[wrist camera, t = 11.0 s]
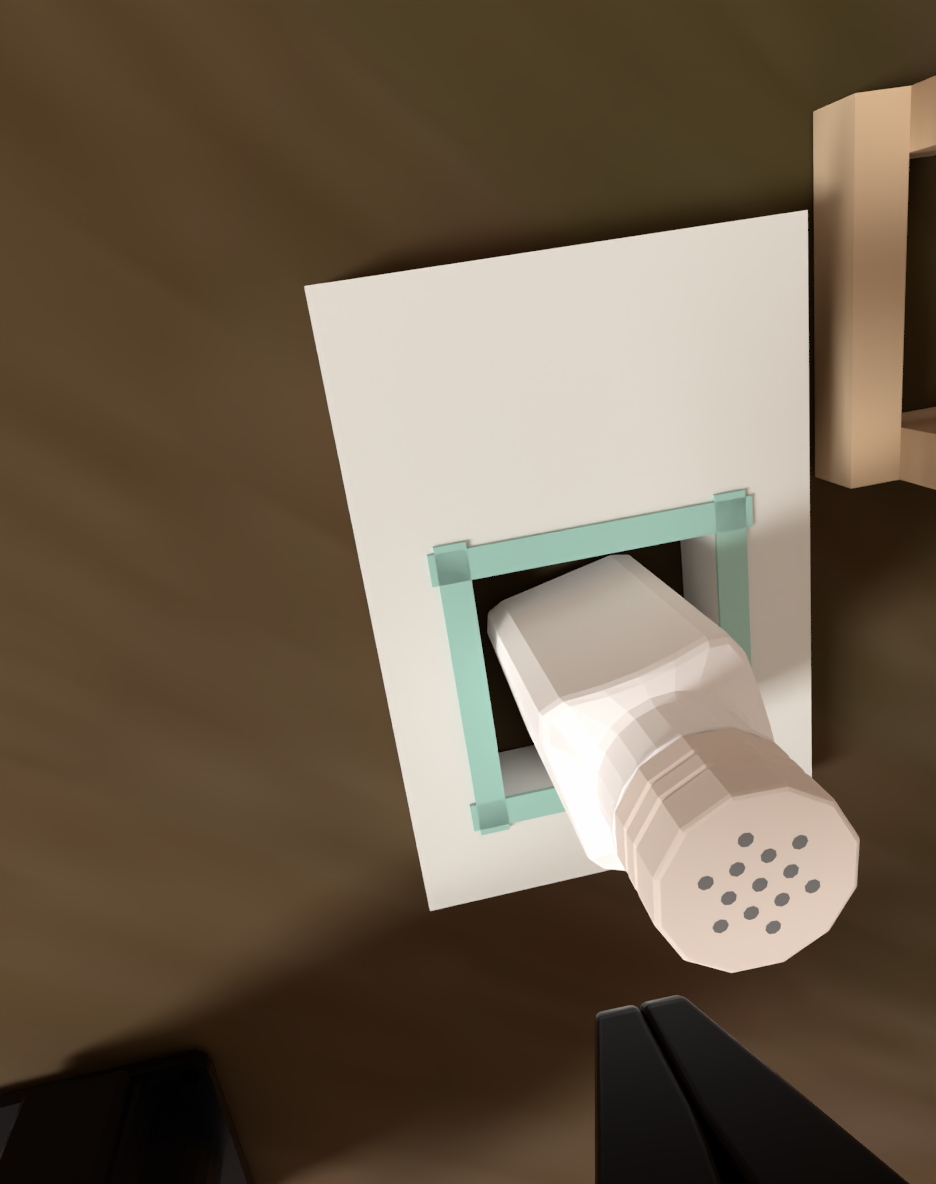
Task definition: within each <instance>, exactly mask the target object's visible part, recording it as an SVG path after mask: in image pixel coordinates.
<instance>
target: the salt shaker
mask: <svg viewBox="0 0 936 1184" xmlns="http://www.w3.org/2000/svg"><path fill="white" fill-rule="evenodd" d="M487 633H488V636H489V638H490V641H491V643H492V645H493V648H494V650H495V653H496V655H497V658H498V660H499V663H500V665H501V667H502V670H503V672H504V675H505V677H506V680H507V682H508V684H509V687H510V689H511V692H512V694H513V697H514V699H515V701H516V704H517V706H518V709H519V711H520V714H521V716H522V718H523V721H524V723H525V726H526V728H527V730H528V732H529V734H530V737H531V739H532V741H533V743H534V745H535V747H536V749H537V751H538V754H539V756H540V758H541V760H542V762H543V764H544V766H545V768H546V770H547V773H548V775H549V777H550V779H551V781H552V783H553V785H554V787H555V790H556V792H557V794H558V796H559V798H560V800H561V802H562V804H563V807H564V809H565V811H566V813H567V815H568V817H569V819H570V821H571V824H572V826H573V828H574V830H575V832H576V834H577V836H578V838H579V840H580V843H581V845H582V847H583V849H584V851H585V853H586V855H587V857H588V858H589V859H590V860H591V861H593V862H594V863H596V864H597V865H599V866H600V867H602V868H603V869H612V870H622V871H626V872H627V873H628V875H629V878H630V880H631V882H632V884H633V886H634V888H635V889H636V891H637V892H638V895H639V897H640V899H641V901H642V903H643V905H644V907H645V909H646V910H647V912H648V914H649V916H650V918H651V920H652V922H653V924H654V926H655V927H656V928H657V929H658V930H659V931H660V933H661V934H662V935H663V936H664V937H665V939H666V940H667V941H668V942H669V943H670V944H671V946H672V947H673V948H674V949H675V950H676V952H677V953H678V954H679V955H680V956H681V957H682V959H683V960H685V961H688V962H692V963H696V964H699V965H703V966H707V967H711V968H715V969H718V970H722V971H726V972H730V973H734V972H739V971H744V970H749V969H753V968H758V967H763V966H767V965H772V964H777V963H781V962H784V961H786V960H787V959H789V958H790V957H792V956H793V955H794V954H796V953H797V952H799V951H800V950H802V949H803V948H805V947H806V946H808V945H809V944H810V943H812V942H813V941H815V940H816V939H818V938H819V937H821V936H822V935H823V934H825V933H826V932H828V931H829V930H830V928H831V927H832V925H833V923H834V922H835V920H836V919H837V917H838V916H839V914H840V912H841V911H842V909H843V908H844V906H845V904H846V903H847V901H848V900H849V898H850V897H851V895H852V893H853V892H854V890H855V889H856V887H857V875H858V858H859V842H860V839H859V836H858V834H857V833H856V831H855V830H854V828H853V827H852V825H851V824H850V822H849V821H848V819H847V818H846V816H845V815H844V813H843V812H842V810H841V809H840V807H839V806H838V804H837V803H836V801H835V800H834V799H833V798H832V797H831V796H830V795H829V794H828V793H827V792H826V791H825V790H824V789H823V788H822V787H821V786H820V785H819V784H818V783H817V782H816V781H815V780H814V779H813V778H811V777H810V776H809V775H808V774H806V773H805V771H804V770H803V769H802V768H801V767H800V766H799V765H798V764H797V763H796V762H795V761H794V760H792V759H791V758H790V757H789V756H788V755H787V754H786V753H785V752H784V751H783V750H782V749H781V748H780V747H779V746H778V745H777V744H776V743H775V742H774V738H773V734H772V730H771V726H770V723H769V719H768V716H767V713H766V710H765V706H764V703H763V700H762V697H761V693H760V691H759V688H758V685H757V682H756V680H755V677H754V674H753V671H752V669H751V666H750V663H749V660H748V658H747V655H746V653H745V651H744V650H743V649H742V648H741V647H740V646H739V645H738V644H737V643H736V642H735V641H734V640H733V639H732V638H731V637H730V636H729V635H728V633H727V632H725V631H724V630H723V629H722V628H720V627H719V626H718V625H717V624H715V623H714V622H713V621H712V620H710V619H709V618H708V617H707V616H705V615H704V614H703V613H702V612H700V611H699V610H698V609H696V608H695V607H694V606H693V605H691V604H690V603H689V602H688V601H686V600H685V599H684V598H683V597H681V596H680V595H679V594H678V593H676V592H675V591H674V590H673V589H671V588H670V587H669V586H668V585H666V584H665V583H664V582H663V581H661V580H660V579H659V578H658V577H656V576H655V575H654V574H653V573H651V572H650V571H649V570H647V569H646V568H645V567H644V566H642V565H641V564H640V563H639V562H637V561H636V560H635V559H634V558H632V557H631V556H630V555H610V556H607V557H605V558H602V559H600V560H598V561H595V562H593V563H591V564H588V565H586V566H583V567H581V568H579V569H576V570H574V571H572V572H569V573H567V574H564V575H562V576H560V577H557V578H555V579H553V580H550V581H548V582H545V583H543V584H541V585H538V586H536V587H534V588H531V589H529V590H527V591H524V592H522V593H519V594H517V595H515V596H512V597H510V598H508V599H505V600H503V601H501V602H500V603H499V604H497V605H496V606H495V607H494V608H493V609H491V610H490V611H489V613H488V623H487Z"/></svg>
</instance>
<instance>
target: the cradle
mask: <svg viewBox="0 0 936 1184" xmlns="http://www.w3.org/2000/svg"><path fill="white" fill-rule="evenodd" d="M935 155H936V76H933V77H931V78H928V79H926V80H924V81H921V82H919V83H916V84H914V85H911V86H904V87H897V88H890V89H882V90H875V91H868V92H861V93H855V94H852V95H850V96H848V97H845V98H843V99H841V100H839V101H836V102H834V103H832V104H830V105H827V106H825V107H823V108H820V109H818V110H816V111H814V112H813V163H814V371H815V477H817V478H820V479H823V480H826V481H829V482H832V483H835V484H838V485H841V486H844V487H847V488H851V489H852V488H857V487H862V486H868V485H873V484H878V483H884V482H889V481H894V480H903V481H906V482H910V483H914V484H917V485H921V486H924V487H928V488H931V489H935V490H936V407H931V408H926V409H920V410H915V411H909V412H904V413H901V412H902V379H903V346H904V313H905V280H906V247H907V214H908V181H909V159H914V158H921V157H928V156H935Z"/></svg>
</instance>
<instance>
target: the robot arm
mask: <svg viewBox="0 0 936 1184" xmlns="http://www.w3.org/2000/svg"><path fill="white" fill-rule="evenodd" d="M190 1069H194V1070H196V1071H188V1070H190ZM0 1184H253V1182H252V1179H251V1176H250V1173H249V1170H248V1167H247V1164H246V1161H245V1158H244V1155H243V1152H242V1149H241V1146H240V1143H239V1140H238V1137H237V1134H236V1131H235V1128H234V1125H233V1122H232V1120H231V1117H230V1114H229V1111H228V1108H227V1105H226V1102H225V1099H224V1096H223V1093H222V1090H221V1087H220V1084H219V1081H218V1078H217V1075H216V1072H215V1069H214V1066H213V1063H212V1060H211V1058H210V1057H209V1055H208V1054H206V1053H204V1052H203V1051H198V1050H190V1051H185V1052H181V1053H176V1054H172V1055H168V1056H164V1057H160V1058H155V1059H151V1060H147V1061H143V1062H139V1063H135V1064H130V1065H126V1066H122V1067H118V1068H114V1069H110V1070H105V1071H101V1072H97V1073H93V1074H89V1075H85V1076H80V1077H76V1078H72V1079H68V1080H64V1081H60V1082H55V1083H51V1084H47V1085H43V1086H39V1087H34V1088H30V1089H26V1090H22V1091H18V1092H14V1093H9V1094H5V1095H1V1096H0ZM595 1184H909V1183H908V1182H907V1181H905V1180H904V1179H903V1178H902V1177H901V1176H899V1175H898V1174H897V1173H896V1172H895V1171H893V1170H892V1169H891V1168H890V1167H889V1166H887V1165H886V1164H885V1163H884V1162H883V1161H881V1160H880V1159H879V1158H878V1157H877V1156H875V1155H874V1154H873V1153H872V1152H871V1151H869V1150H868V1149H867V1148H866V1147H865V1146H863V1145H862V1144H861V1143H860V1142H859V1141H857V1140H856V1139H855V1138H854V1137H853V1136H851V1135H850V1134H849V1133H848V1132H847V1131H845V1130H844V1129H843V1128H842V1127H841V1126H839V1125H838V1124H837V1123H836V1122H835V1121H833V1120H832V1119H831V1118H830V1117H829V1116H827V1115H826V1114H825V1113H824V1112H823V1111H821V1110H820V1109H819V1108H818V1107H817V1106H815V1105H814V1104H813V1103H812V1102H811V1101H809V1100H808V1099H807V1098H806V1097H805V1096H803V1095H802V1094H801V1093H800V1092H799V1091H797V1090H796V1089H795V1088H794V1087H793V1086H791V1085H790V1084H789V1083H788V1082H787V1081H785V1080H784V1079H783V1078H782V1077H781V1076H779V1075H778V1074H777V1073H776V1072H775V1071H773V1070H772V1069H771V1068H770V1067H768V1066H767V1065H766V1064H765V1063H764V1062H762V1061H761V1060H760V1059H759V1058H758V1057H756V1056H755V1055H754V1054H753V1053H752V1052H750V1051H749V1050H748V1049H747V1048H746V1047H744V1046H743V1045H742V1044H741V1043H740V1042H738V1041H737V1040H736V1039H735V1038H734V1037H732V1036H731V1035H730V1034H729V1033H728V1032H726V1031H725V1030H724V1029H723V1028H722V1027H720V1026H719V1025H718V1024H717V1023H716V1022H714V1021H713V1020H712V1019H711V1018H710V1017H708V1016H707V1015H706V1014H705V1013H704V1012H702V1011H701V1010H700V1009H699V1008H698V1007H696V1006H695V1005H694V1004H693V1003H692V1002H690V1001H689V1000H688V999H686V998H685V997H682V996H679V995H674V996H669V997H664V998H660V999H655V1000H651V1001H646V1002H644V1003H642V1004H641V1006H640V1008H639V1009H638V1008H637V1007H636V1006H634V1005H628V1006H624V1007H619V1008H615V1009H610V1010H605V1011H601V1012H599V1013H598V1014H597V1015H596V1017H595Z"/></svg>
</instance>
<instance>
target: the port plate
mask: <svg viewBox="0 0 936 1184" xmlns="http://www.w3.org/2000/svg"><path fill="white" fill-rule="evenodd" d="M304 288H305V293H306V298H307V303H308V308H309V313H310V318H311V323H312V328H313V333H314V338H315V343H316V348H317V353H318V358H319V363H320V368H321V373H322V378H323V383H324V388H325V393H326V398H327V402H328V407H329V412H330V417H331V422H332V427H333V432H334V437H335V442H336V447H337V452H338V457H339V462H340V467H341V472H342V477H343V482H344V487H345V492H346V497H347V502H348V507H349V512H350V517H351V522H352V527H353V532H354V537H355V542H356V547H357V551H358V556H359V561H360V566H361V571H362V576H363V581H364V586H365V591H366V596H367V601H368V606H369V611H370V616H371V621H372V626H373V631H374V636H375V641H376V646H377V651H378V656H379V661H380V666H381V671H382V676H383V681H384V686H385V691H386V696H387V700H388V705H389V710H390V715H391V720H392V725H393V730H394V735H395V740H396V745H397V750H398V755H399V760H400V765H401V770H402V775H403V780H404V785H405V790H406V795H407V800H408V805H409V810H410V815H411V820H412V825H413V830H414V835H415V840H416V845H417V849H418V854H419V859H420V864H421V869H422V874H423V879H424V884H425V889H426V894H427V899H428V904H429V909H430V911H433V910H438V909H442V908H446V907H451V906H455V905H459V904H464V903H468V902H472V901H477V900H481V899H485V898H490V897H494V896H499V895H503V894H507V893H512V892H516V891H520V890H525V889H529V888H533V887H538V886H542V885H546V884H551V883H555V882H559V881H564V880H568V879H573V878H577V877H581V876H586V875H590V874H594V873H599V872H603V871H607V870H612V869H603V868H602V867H600V866H599V865H597V864H596V863H594V862H593V861H591V860H590V859H589V858H588V857H587V855H586V853H585V851H584V849H583V847H582V845H581V843H580V840H579V838H578V836H577V834H576V832H575V830H574V828H573V826H572V824H571V821H570V819H569V817H568V815H567V813H566V811H565V809H564V807H563V804H562V802H561V800H560V798H559V796H558V794H557V792H556V790H555V787H554V785H553V783H552V781H551V779H550V777H549V775H548V773H547V770H546V768H545V766H544V764H543V762H542V760H541V758H540V756H539V754H538V751H537V749H536V747H535V745H532V746H527V747H523V748H518V749H513V750H508V751H504V752H499V753H498V748H497V741H496V735H495V728H494V722H493V715H492V709H491V702H490V696H489V689H488V683H487V676H486V670H485V663H484V657H483V650H482V644H481V637H480V631H479V624H478V618H477V611H476V605H475V598H474V592H473V586H472V580H474V579H480V578H485V577H490V576H495V575H501V574H506V573H511V572H516V571H522V570H527V569H532V568H537V567H543V566H548V565H553V564H558V563H564V562H569V561H574V560H579V559H585V558H590V557H595V556H600V555H605V554H611V553H616V552H621V551H626V550H632V549H637V548H642V547H647V546H653V545H658V544H663V543H668V542H674V541H679V540H680V542H681V558H682V574H683V590H684V599H685V600H686V601H688V602H689V603H690V604H691V605H693V606H694V607H695V608H696V609H698V610H699V611H700V612H702V613H703V614H704V615H705V616H707V617H708V618H709V619H710V620H712V621H713V622H714V623H715V624H717V625H718V626H719V627H720V628H722V629H723V630H724V631H725V632H727V633H728V635H729V636H730V637H731V638H732V639H733V640H734V641H735V642H736V643H737V644H738V645H739V646H740V647H741V648H742V649H743V650H744V651H745V653H746V655H747V658H748V660H749V663H750V666H751V669H752V671H753V674H754V677H755V680H756V682H757V685H758V688H759V691H760V693H761V697H762V700H763V703H764V706H765V710H766V713H767V716H768V719H769V723H770V726H771V730H772V734H773V738H774V742H775V743H776V744H777V745H778V746H779V747H780V748H781V749H782V750H783V751H784V752H785V753H786V754H787V755H788V756H789V757H790V758H791V759H792V760H794V761H795V762H796V763H797V764H798V765H799V766H800V767H801V768H802V769H803V770H804V771H805V773H806V774H808V775H809V776H810V777H811V778H812V734H811V591H810V448H809V306H808V210H803V211H796V212H790V213H783V214H777V215H770V216H763V217H757V218H750V219H744V220H737V221H730V222H724V223H717V224H711V225H704V226H698V227H691V228H684V229H678V230H671V231H665V232H658V233H651V234H645V235H638V236H632V237H625V238H618V239H612V240H605V241H599V242H592V243H586V244H579V245H572V246H566V247H559V248H553V249H546V250H539V251H533V252H526V253H520V254H513V255H507V256H500V257H493V258H487V259H480V260H474V261H467V262H460V263H454V264H447V265H441V266H434V267H427V268H421V269H414V270H408V271H401V272H395V273H388V274H381V275H375V276H368V277H362V278H355V279H348V280H342V281H335V282H329V283H322V284H316V285H309V286H304Z"/></svg>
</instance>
